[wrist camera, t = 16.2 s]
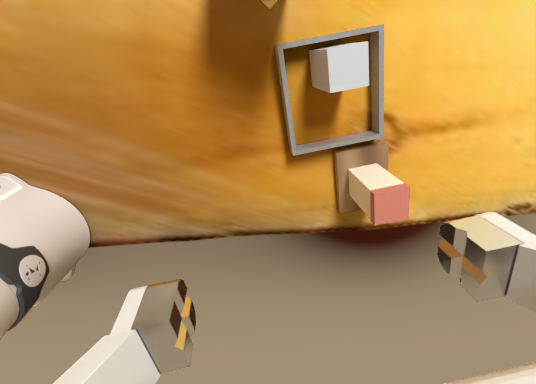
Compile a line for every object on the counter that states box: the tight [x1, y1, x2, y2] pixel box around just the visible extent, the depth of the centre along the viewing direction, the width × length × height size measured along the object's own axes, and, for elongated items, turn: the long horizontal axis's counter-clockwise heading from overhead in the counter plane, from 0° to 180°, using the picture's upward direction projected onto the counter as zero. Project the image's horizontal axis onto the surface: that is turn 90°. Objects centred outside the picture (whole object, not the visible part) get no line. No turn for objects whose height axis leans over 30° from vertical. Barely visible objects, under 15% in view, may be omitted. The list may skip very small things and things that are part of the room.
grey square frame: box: [274, 24, 384, 156], centre depth 39 cm, size 13×14×2 cm
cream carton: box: [348, 163, 410, 225], centre depth 41 cm, size 5×5×9 cm
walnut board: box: [334, 140, 388, 213], centre depth 46 cm, size 8×10×1 cm
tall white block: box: [309, 41, 369, 93], centre depth 35 cm, size 4×4×8 cm
